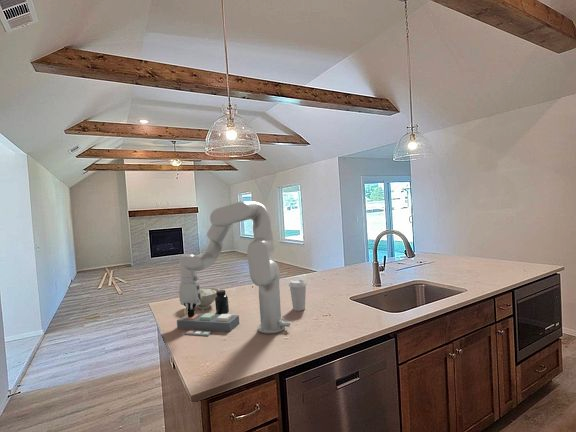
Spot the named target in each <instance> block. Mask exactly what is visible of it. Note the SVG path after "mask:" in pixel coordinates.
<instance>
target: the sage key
mask: <svg viewBox="0 0 576 432" xmlns="http://www.w3.org/2000/svg"><path fill="white" fill-rule="evenodd" d="M203 314H204V315H202V316H201V317H200V320H212V319H213V318H214V317H215V314H216V313H212V312H211V313H210V312H206V313H203Z"/></svg>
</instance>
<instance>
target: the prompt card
mask: <svg viewBox="0 0 576 432" xmlns="http://www.w3.org/2000/svg"><path fill="white" fill-rule="evenodd" d="M212 333H213V331H209V330H193V329H188V330H187V331H186V332H185V333H184V335H185V336H197V335H199V337H202V336H203V337H209V336H210V335H212Z"/></svg>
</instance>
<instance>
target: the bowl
mask: <svg viewBox="0 0 576 432" xmlns="http://www.w3.org/2000/svg"><path fill="white" fill-rule="evenodd" d="M200 289H201V296H202V300H201V301H200V302H201V304H200V305H197V306H196V307H197V309H200V310H205V308H206V309H209V308H211V304H213V303H214V302H215V297H216V296H217V295H216V291H219V290H221V289H220V288H218V287H208V286H207V287H202V288H201V287H200Z"/></svg>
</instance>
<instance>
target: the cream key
mask: <svg viewBox="0 0 576 432" xmlns="http://www.w3.org/2000/svg"><path fill="white" fill-rule="evenodd" d="M232 315H233V314H231V313H227V314H221V315H220V316H219V317H217V321H229V320H230V319H231V318H232Z"/></svg>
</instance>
